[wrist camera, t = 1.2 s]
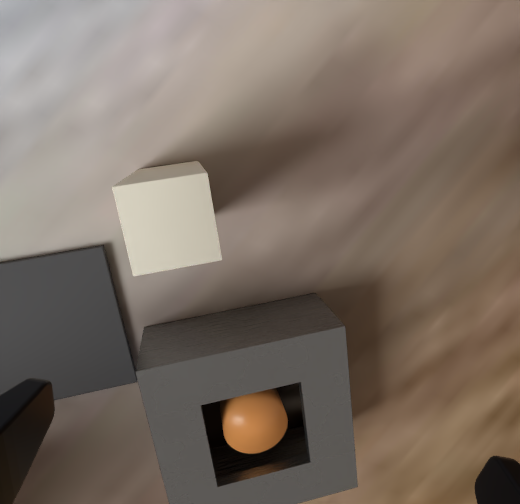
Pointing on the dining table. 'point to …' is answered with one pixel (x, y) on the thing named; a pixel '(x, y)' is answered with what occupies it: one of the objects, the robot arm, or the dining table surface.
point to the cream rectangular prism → (167, 218)
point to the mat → (62, 324)
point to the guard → (242, 383)
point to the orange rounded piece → (254, 421)
